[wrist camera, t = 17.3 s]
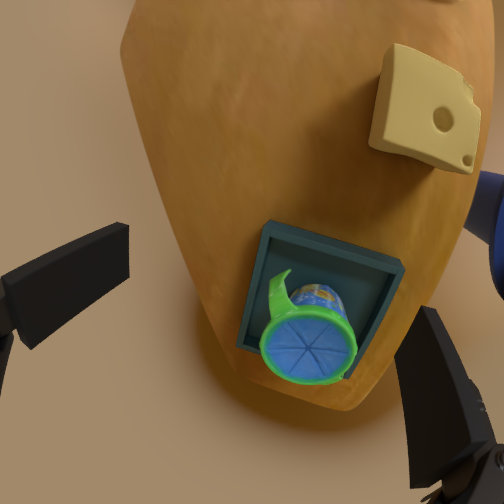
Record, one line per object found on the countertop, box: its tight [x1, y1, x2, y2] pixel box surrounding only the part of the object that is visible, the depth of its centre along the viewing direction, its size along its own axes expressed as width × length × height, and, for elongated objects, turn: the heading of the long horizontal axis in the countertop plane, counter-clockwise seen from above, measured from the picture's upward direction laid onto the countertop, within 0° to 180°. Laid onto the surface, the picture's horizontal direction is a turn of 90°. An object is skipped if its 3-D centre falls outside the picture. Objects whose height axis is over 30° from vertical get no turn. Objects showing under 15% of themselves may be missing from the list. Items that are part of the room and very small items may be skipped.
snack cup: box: [259, 269, 358, 385], centre depth 32 cm, size 16×10×10 cm
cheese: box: [368, 43, 481, 175], centre depth 22 cm, size 10×11×10 cm
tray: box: [236, 220, 405, 379], centre depth 36 cm, size 18×19×4 cm
